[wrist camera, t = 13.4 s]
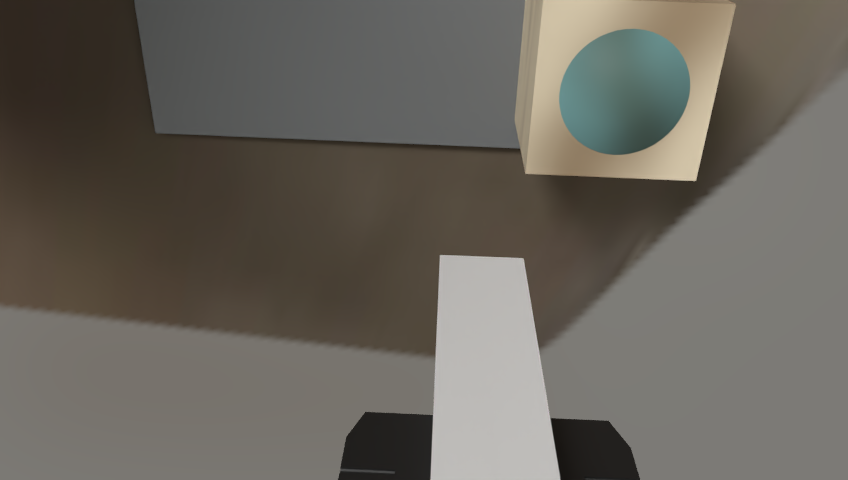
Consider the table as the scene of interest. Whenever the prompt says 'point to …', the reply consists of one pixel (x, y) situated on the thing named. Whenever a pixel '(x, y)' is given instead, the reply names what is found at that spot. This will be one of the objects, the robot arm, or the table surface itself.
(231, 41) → the rubber mat
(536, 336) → the robot arm
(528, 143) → the beech block
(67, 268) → the table surface
